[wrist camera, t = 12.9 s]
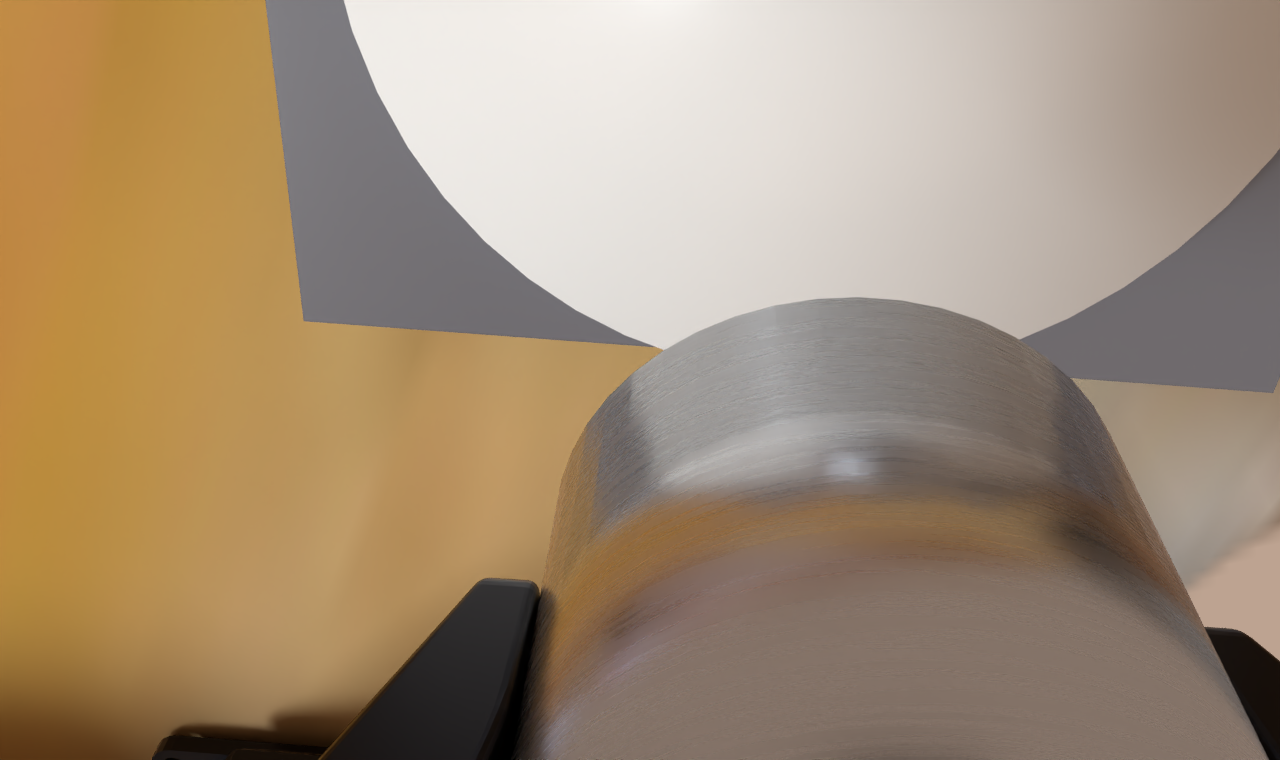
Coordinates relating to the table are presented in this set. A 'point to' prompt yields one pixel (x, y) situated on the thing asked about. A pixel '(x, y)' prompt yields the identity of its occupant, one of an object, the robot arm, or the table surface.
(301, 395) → the table surface
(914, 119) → the scale
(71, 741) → the table surface
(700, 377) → the cylinder
